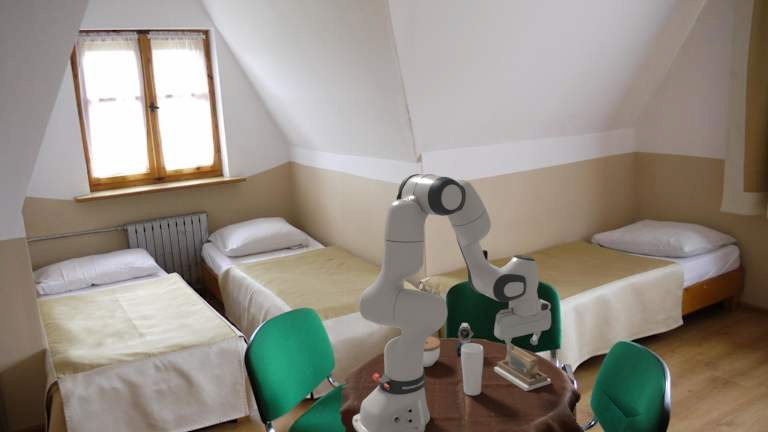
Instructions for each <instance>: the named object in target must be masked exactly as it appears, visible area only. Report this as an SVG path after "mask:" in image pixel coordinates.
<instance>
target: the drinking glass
mask: <svg viewBox="0 0 768 432" xmlns="http://www.w3.org/2000/svg"><path fill="white" fill-rule="evenodd" d="M460 362H461V372H462V383H463V392H464V394H465V395H468V396H471V397H474V396H478V395H480V394H481V393H482V392H481V391H482V379H483V370H484V369H483V368H484V367H483V366H484V347H483V346H482V344H479V343H475V342H469V343H467V344H464V345H463V346H462V347H461V356H460Z"/></svg>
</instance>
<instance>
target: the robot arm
mask: <svg viewBox="0 0 768 432" xmlns="http://www.w3.org/2000/svg"><path fill="white" fill-rule="evenodd" d="M429 215H433V216H443V217H445V216H447V218H448V220H449V223H450V225H451V227H452V229H453V231H454V234H455V236H456V241H457V244H458V246H459V250H460V252H461V255H462V257H463V260H464V262H465V265H466V269H467V279H468V284H469V286H470V288H471V289H472V290H473V291H475V292H476V293H478V294H482V295H484V296H487V297H488V298H491V299H493V300H495V301H498V302H500V303H508V302H509V303H508V308H505V309H501V310H499V312H497V314H496V315H495V323H494V330H493V334H494V336H495V337H496V339H499V340H501V341H504V342H505V344H506V351H507V350H509V351H511V350H514V346H515V344H513V343H512V342H511V341H513V338H518V337H521V336H526V335H529V334H533V336H532V337H531V338H530V342H529V343H530V345H532V346H536V345H538V343H539V342H538V340H539V338H540V336H541V334H542V332H543V331H547V330H549V329H550V328H551V326H552V313H551V311H550V309H551V307H552V306H551V303H550V302H548V301H546V300H543V299H541V298H539V295H538V287H539V266H538V262H537V260H536V259H534V258H533V257H530V256H526V255H522V254H520V255H519V254H517V255H513V256H512V257H511V260H510V261H509V262H508V263H506V265H504V266H501V267H498V266H496V265H494V264H493V263H491V262H489V261H488V260H487V259H486V257H485V254H484V251H483V249H482V246H481V244H480V241H482V240H483V239H484V238H486V237H487V236H488V234H489V232H490V231H491V227H492V224H491V223H492V222H491V220H490V219H491V218H490V215H489V213H488V211H487V208H486V207H485V205H484V203H483V200H482V199H481V196H480V195H479V194H478V192H477V191H476V189H475V187H474V186H473V184H472V183H470V182H469V181H468V180H466V179H453V178H451V177H449V176H440V175H436V174H432V173H431V174H428V173H426V174H425V173H424V174H419V173H416V174H411V175H409V176H407V177H405V178H404V179H403V180H402V181H401V183H400V185H399V188H398V194H397V196H396V200H394V201H393V202H391V203H390V204H389V206H388V209H387V212H386V217H385V222H384V231H383V233H384V234H383V235H384V236H383V256H382V264H381V269H380V271H379V274H378V276H377V277H376V279H375V281H374V282H373V283H372V284H370V285H369V286H368V287H366V288H365V289H364V290H363V292H362V293H361V294H360V297H359V299H358V310H359V313H360V315H361V317H362V318H363V319H364V320H366V321H369V322H370V323H373V324H376V325H379V326H384V327H392V328H398V329H400V330H401V333H400V334H401V335H399V336H396V337H394V338H392V339H390V340H389V341H388V342H387V343H386V344H385V346H384V350H383V359H384V363H383V364H384V371H383V373H382V375H381V376H380V374H379V373H374V374H373V375H372V380H373V381H374V382H376V383H379V385H378V386H376V388H375V389H373V391H371V393H370V394H368V396H366V398H364V399H363V400H362V402H361V405H360V411H359V413H357V414H356V415H354V416H353V417H352V425H353V428H354V430H355V431H356V432H425V430H426V426H427V424H428V423H429V421H430V420H431V415H430V410H429V408H428V405H427V404H428V403H427V400H426V398H427V397H426V392H425V387H426V371H425V370H424V367H423V357H424V347H425V344H426V341H427V340H428V338H429V337H430V336H431V337H432V335H433V334H435V333H436V332H437V331H439V330H440V329H441V328H442V327H444V324H445V323H446V320H447V318H448V306H447V303H446V301H445V299H444V298H443V297H442V296H440V295H438V294H435V293H433V292H429V291H425V290H419V289H411V288H405V281H406V279H408V278H411V277H413V276H414V275H416V274H417V275H418V273H420V271H421V270H422V269H423V265H424V260H425V259H424V256H425V255H424V254H425V253H424V252H425V251H424V250H425V222H426V220H427V218H428V216H429Z"/></svg>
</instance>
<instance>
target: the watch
mask: <svg viewBox="0 0 768 432" xmlns="http://www.w3.org/2000/svg"><path fill="white" fill-rule="evenodd" d="M473 335H474V332H473V331H472V330H471V327H470V325H469V323H467V322H461V325H460V327H459V329H458V331H457V336H458V338H459V341H460V342H456V356H457V355H458V356H457V357H461V347H462V346H463V345H464V344H467V343H471V339H472V336H473Z"/></svg>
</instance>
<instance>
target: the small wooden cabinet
mask: <svg viewBox="0 0 768 432" xmlns="http://www.w3.org/2000/svg"><path fill="white" fill-rule="evenodd" d="M493 372H496V373H497V374H499V376H501V377H503V378H504V379H506V380H508V381H509V382H510V383H512V384H514V385H515V386H517V387H519V388H520V389H521V390H523V391H525V392H527V391H531V390H534V389H537V388H540V387H543V386H546V385H550V384H551V383H552V381H551V379H550V378H549V375H547V374H545V373H543V372H542V371H540V370H539V369H537V375H536V378H534V379H531V380H530V379H528V378H526V377H525V376H523V375H522V374H520V373H518V372H517V371H515V370H513V369H512V368H510V367H508V366H507V356H506V357H505V359H504V360H499V361H496V366H494V367H493Z"/></svg>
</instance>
